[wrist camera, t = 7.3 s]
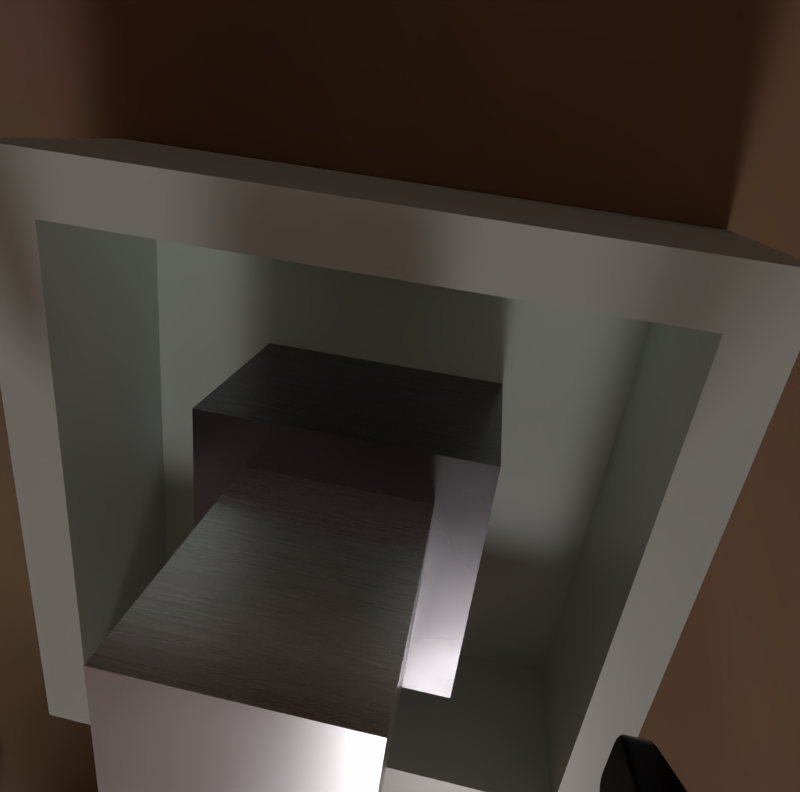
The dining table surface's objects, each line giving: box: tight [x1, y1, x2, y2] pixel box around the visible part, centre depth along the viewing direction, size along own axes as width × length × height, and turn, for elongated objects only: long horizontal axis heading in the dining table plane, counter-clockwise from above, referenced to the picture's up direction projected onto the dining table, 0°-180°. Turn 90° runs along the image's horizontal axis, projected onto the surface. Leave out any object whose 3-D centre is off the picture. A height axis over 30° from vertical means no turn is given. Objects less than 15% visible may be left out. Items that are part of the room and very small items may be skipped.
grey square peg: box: [83, 343, 503, 792], centre depth 10 cm, size 5×5×8 cm
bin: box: [0, 138, 800, 792], centre depth 12 cm, size 12×12×4 cm
